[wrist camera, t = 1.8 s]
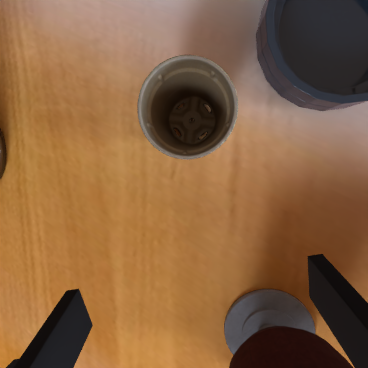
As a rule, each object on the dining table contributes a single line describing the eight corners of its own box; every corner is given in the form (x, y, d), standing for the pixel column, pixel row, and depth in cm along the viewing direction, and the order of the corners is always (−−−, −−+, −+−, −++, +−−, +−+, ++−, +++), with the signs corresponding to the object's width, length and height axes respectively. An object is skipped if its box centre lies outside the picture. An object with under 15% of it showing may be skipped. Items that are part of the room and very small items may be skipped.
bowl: (226, 38, 29) (231, 13, 24) (340, -75, 26) (372, -129, 21) (315, 139, 30) (338, 137, 24) (433, 39, 27) (487, 13, 22)
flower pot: (143, 135, 31) (120, 129, 23) (176, 68, 30) (165, 35, 21) (205, 170, 31) (206, 176, 23) (242, 104, 30) (257, 85, 21)
